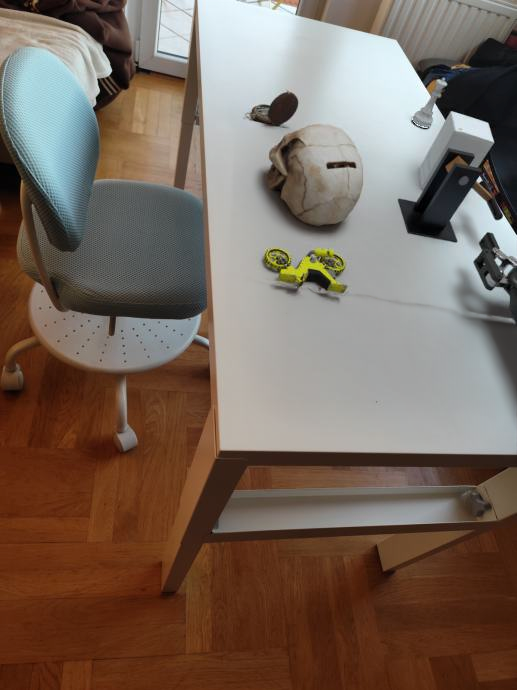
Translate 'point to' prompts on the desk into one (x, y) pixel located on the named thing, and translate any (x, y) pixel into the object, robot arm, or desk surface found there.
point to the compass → (276, 110)
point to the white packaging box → (457, 143)
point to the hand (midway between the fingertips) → (510, 241)
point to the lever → (481, 191)
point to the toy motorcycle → (309, 268)
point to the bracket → (440, 198)
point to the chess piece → (429, 106)
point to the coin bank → (317, 173)
